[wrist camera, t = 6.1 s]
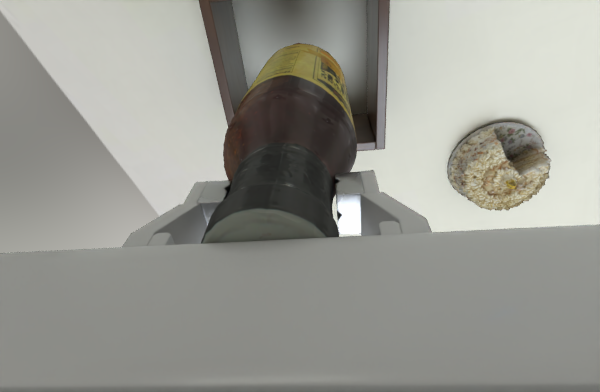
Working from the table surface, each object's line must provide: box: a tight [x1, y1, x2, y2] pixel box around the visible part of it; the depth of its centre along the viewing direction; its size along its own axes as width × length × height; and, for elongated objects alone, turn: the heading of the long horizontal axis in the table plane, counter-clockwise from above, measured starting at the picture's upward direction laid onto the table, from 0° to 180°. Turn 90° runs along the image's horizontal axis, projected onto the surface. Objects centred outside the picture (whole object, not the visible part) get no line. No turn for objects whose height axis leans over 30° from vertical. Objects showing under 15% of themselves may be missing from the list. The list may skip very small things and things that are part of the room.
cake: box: [448, 122, 551, 210], centre depth 37 cm, size 10×10×5 cm
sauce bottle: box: [201, 43, 357, 244], centre depth 18 cm, size 6×6×20 cm
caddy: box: [199, 0, 390, 151], centre depth 31 cm, size 14×14×7 cm
